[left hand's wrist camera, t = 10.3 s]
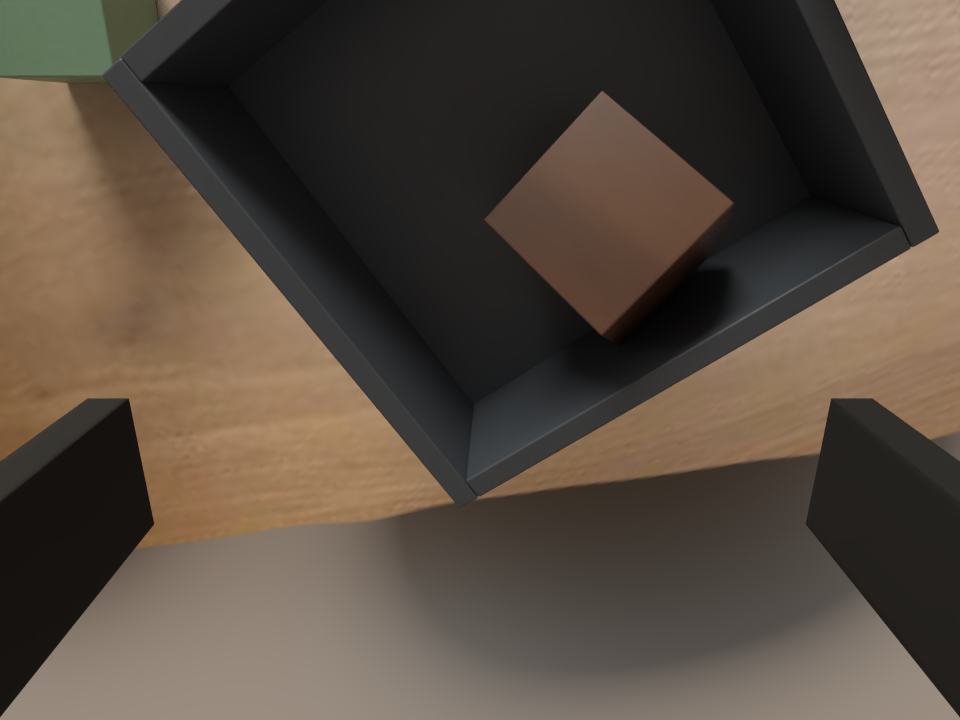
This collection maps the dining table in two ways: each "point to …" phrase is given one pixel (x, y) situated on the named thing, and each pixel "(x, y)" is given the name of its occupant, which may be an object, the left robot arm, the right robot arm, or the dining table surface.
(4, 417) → the dining table surface
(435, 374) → the tote
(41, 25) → the green block
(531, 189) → the walnut block
